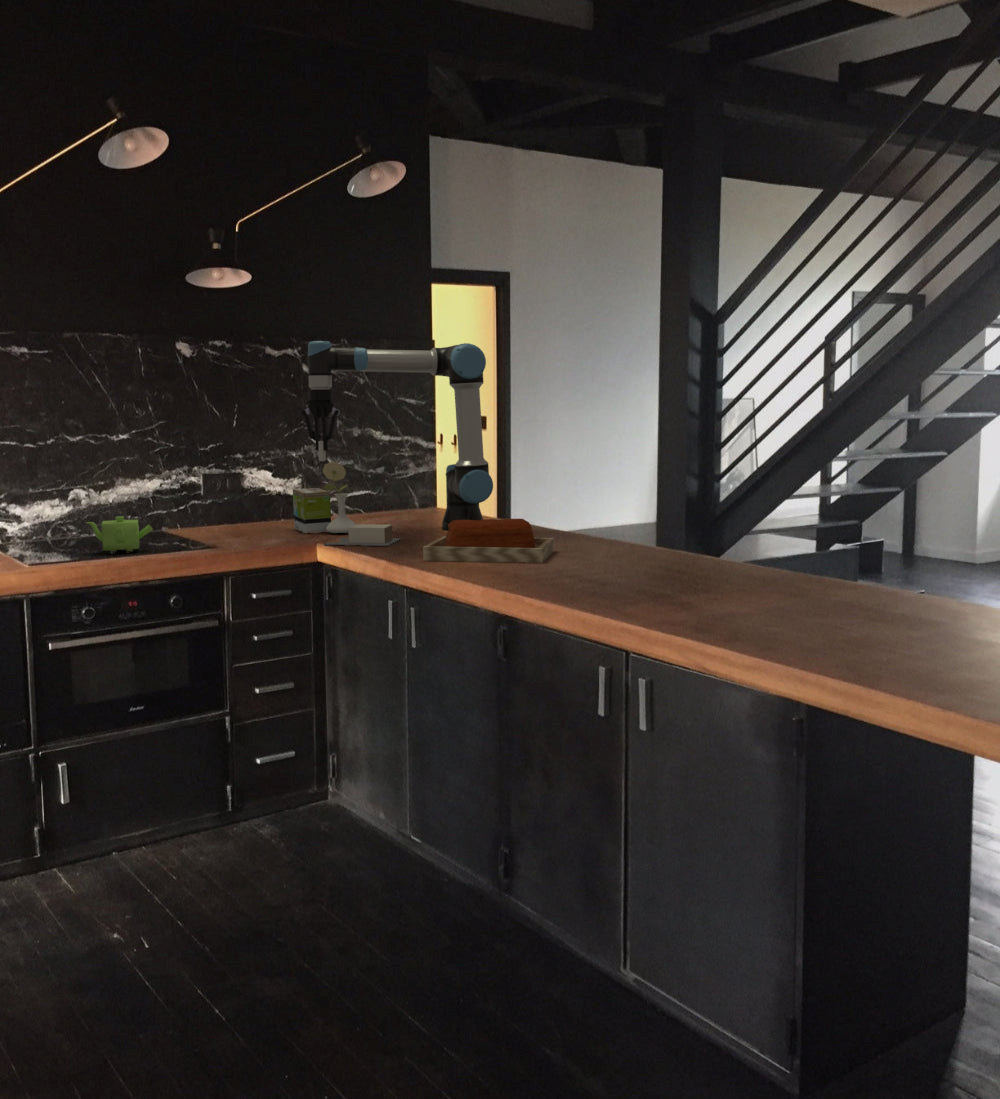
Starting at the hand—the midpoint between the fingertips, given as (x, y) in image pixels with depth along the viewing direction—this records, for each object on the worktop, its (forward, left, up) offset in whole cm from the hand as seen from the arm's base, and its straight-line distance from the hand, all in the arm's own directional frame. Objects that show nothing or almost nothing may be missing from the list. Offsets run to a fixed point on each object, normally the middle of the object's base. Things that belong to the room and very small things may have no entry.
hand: (322, 460), depth 378 cm
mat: (-15, +6, -26) cm, 31 cm away
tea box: (+13, -23, -27) cm, 37 cm away
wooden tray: (-62, +29, -26) cm, 74 cm away
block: (-12, +6, -23) cm, 27 cm away
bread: (-62, +29, -26) cm, 74 cm away
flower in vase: (+1, -18, -27) cm, 32 cm away
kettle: (+55, +35, -27) cm, 70 cm away
